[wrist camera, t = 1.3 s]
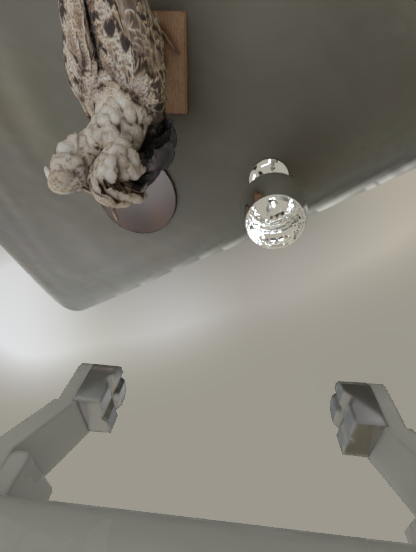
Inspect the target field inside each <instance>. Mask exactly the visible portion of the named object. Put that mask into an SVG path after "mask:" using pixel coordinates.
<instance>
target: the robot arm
mask: <svg viewBox="0 0 416 552" xmlns="http://www.w3.org/2000/svg"><path fill="white" fill-rule="evenodd" d="M122 373H123V372H122V368H121V367H119V366H109V365H99V364H87V363H82V364H81V365H80V366H79V367H78V369H77V370H76V372H75V373H74V375H73V377H72V378H71V380H70V381H69V383H68V385H67V386H66V388H65V389H64V391H63V393H62V394H61V396H60V397H59V399H54V400H53V401H51V402H50V403H48V404H47V405H46V406H44V407H43V408H41V409H40V410H38V411H37V412H36V413H34V414H33V415H31V416H30V417H28V418H27V419H25V420H24V421H22V422H21V423H20V424H18V425H17V426H15V427H14V428H13V429H11V430H10V431H8V432H7V433H5V434H4V435H2V436H1V437H0V552H416V518H415V519H414V520H413V521H412V522H411V524H410V525H409V526H408V527H407V529H406V531H405V534H406V537H407V540H408V542H409V544H408V543H400V542H391V541H382V540H375V539H366V538H358V537H350V536H341V535H333V534H325V533H316V532H308V531H299V530H291V529H283V528H274V527H266V526H258V525H249V524H241V523H232V522H224V521H216V520H207V519H199V518H190V517H183V516H174V515H166V514H157V513H149V512H140V511H132V510H124V509H115V508H107V507H99V506H91V505H82V504H73V503H65V502H57V501H49V500H48V499H49V497H50V495H51V493H52V487H51V486H50V484H49V483H48V481H47V479H46V478H45V475H47V473H49V471H51V469H52V468H54V467H55V466H56V465H57V464H58V463H59V462H60V461H61V460H62V459H63V458H64V457H65V456H66V455H67V453H69V452H70V451H71V450H72V449H73V448H74V447H75V446H76V445H77V444H78V443H79V442H80V441H81V440H82V439H83V438H84V437H85V436H86V435H87V434H88V433H89V432H88V431H95V432H109V433H111V430H112V428H113V426H114V423H115V421H116V418H117V412H116V409H117V408H119V407H120V406H121V405H122V403H123V400H124V397H125V392H126V384H125V380H124V379H123V378H122V377H121V376H122ZM335 391H336V394H334V395H333V396H332V398H331V401H330V410H331V417H332V420H333V423H334V424H335V425H336V426H337V427H338V428H339V430H338V433H337V438H338V441H339V445H340V448H341V451H342V454H345V455H353V456H361V457H369V458H368V459H369V460H370V462H371V463H372V464H373V465H374V467H375V468H376V469H377V470H378V471H379V473H380V474H381V475H382V476H383V477H384V478H385V480H386V481H387V482H388V484H389V485H390V486H391V487H392V488H393V490H394V491H395V492H396V493H397V494H398V496H399V497H400V498H401V499H402V501H403V502H404V503H405V504H406V505H407V506H408V508H409V509H410V510H411V512H412V513H413V514H414V515H415V516H416V432H414V431H413V430H412V429H407V428H406V426H405V424H404V422H403V420H402V418H401V416H400V414H399V412H398V410H397V409H396V407H395V405H394V403H393V401H392V399H391V397H390V395H389V393H388V391H387V389H386V387H385V386H384V385H382V384H369V383H358V382H340V381H338V382H337V383H336V386H335Z"/></svg>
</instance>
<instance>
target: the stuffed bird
mask: <svg viewBox="0 0 416 552" xmlns="http://www.w3.org/2000/svg"><path fill="white" fill-rule="evenodd" d="M58 3H59V13H60V21H61V26H62V30H63V55H64V57H63V58H64V62H65V67H66V71H67V74H68V77H69V82H70V85H71V88H72V90H73V92H74V94H75V96H76V97H77V98H78V99H79V101H80V104H81V105H82V107H83V109H84V111H85V113H86V117H88V119H89V120H90V123H89V124H88V126H87V128H85V129H83V130H82V131H81V132H80V133H79V134H76V132H74V133H73V134H69V136H67V139H66V140H63V141H62V142H61V143H60V142H59V143H58V145H57V148H56V149H55V154H54V156H53V154H52V160H51V162H50V168H48V169H47V167H46V166H45V167H44V171H45V175H46V177H47V178H48V181H47V183H48V186H49V188H50V189H51V190H52V191H53V192H55V193H57V194H71V193H73V192H75V191H76V190H77V193H80V192H83V191H86V192H87V193H90V194H92V196H93V197H94V198H95V199H96V200H97V201H98V202H100V203H101V204H103V205H104V206H106V207H111V210H112V212H113V215H114V217H115V219H116V220H117V221H118V217H117V214H116V211H115V208H127V207H129V206H130V205H131V203H132V204H141V203H142V202H143V201H144V200H145V199H146V198H147V196H148V195H147V194H145V193H146V192H145V191H146V189H147V188H148V186H149V185H151V184H152V183H153V182H154V181H155V180H156V178H157V177H158V176H159V174H160V173H161V171H162V170H164V169H166V168H167V167H169V165H170V164H171V163H172V161H173V159H174V156H175V147H176V144H177V134H176V132H175V129H174V123H173V120H172V118H171V119H170V120H168V119H167V118H166V113H172V114H187V113H188V78H187V14H186V12H185V11H151V10H150V7H149V4H148V2H147V0H58Z"/></svg>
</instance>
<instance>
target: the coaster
mask: <svg viewBox="0 0 416 552" xmlns="http://www.w3.org/2000/svg"><path fill="white" fill-rule="evenodd" d="M145 192H146V193H145V194H147V195H148V196H147V198H146V199H145V200H144V201H143V202H142V203H141V204H132V203H131V205H130V206H129V207H127V208H115V211H116V214H117V217H118V221H117V220H116V219H115V217H114V215H113V212H112V210H111V207H106V206H104V205H103V204H101V205H102V207H103V209H104V210H105V212H106V213H107V215H108V216H109V217H110V218H111V219H112V220H113V221H114V222H115V223H117V224H118V225H119V226H121V227H123V228H125V229H127V230H129V231H132V232H136V233H152V232H155V231H158V230H160V229H162V228H163V227H164V226H166V225H167V224H168V222H169V221H170V220H171V218H172V217H173V215H174V212H175V209H176V203H177V196H176V190H175V187H174V184H173V182H172V180H171V178H170V176H169V174H168V173H167V172H166V170H165V169H164V170H162V171H161V173H160V174H159V176H158V177H157V178H156V180H155V181H154V182H153V183H152V184H151V185H149V186H148V188H147V189H146V191H145Z"/></svg>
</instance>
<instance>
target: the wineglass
mask: <svg viewBox="0 0 416 552" xmlns="http://www.w3.org/2000/svg"><path fill="white" fill-rule="evenodd" d="M307 211H308V205H307V198H306V195H305V192H304V190H303V188H302V186H301V185H300V184H299V183H298V182H297V181H296V180H295V179H294V178H293V177H291V176H289V172H288V169H287V167H286V166H285V165H284V164H283V163H282V162H281V161H279V160H277V159H271V158H269V159H264V160H262V161H260V162H258V163H257V164H256V165H255V166H254V167H253V168H252V170H251V172H250V175H249V185H248V186H247V187H246V189H245V190H244V192H243V194H242V197H241V201H240V218H241V221H242V224H243V227H244V229H245V231H246V233H247V234H248V236H249V238H250V239H251V240H252V241H253V242H254V243H255V244H257V245H259V246H261V247H263V248H267V249H278V248H283V247H286V246H288V245H290V244H291V243H293V242H294V241H295V240H296V239H298V237H299V236H300V235H301V233H302V232H303V229H304V226H305V223H306V219H307Z"/></svg>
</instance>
